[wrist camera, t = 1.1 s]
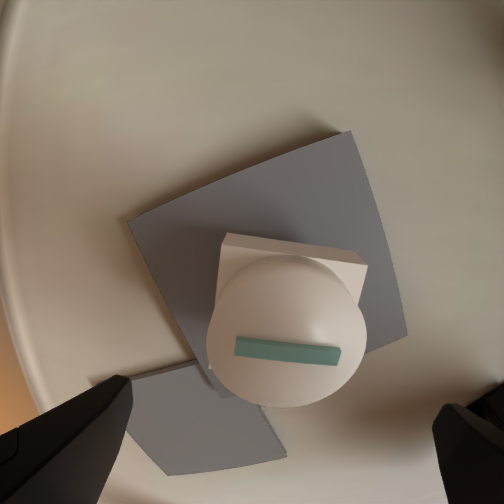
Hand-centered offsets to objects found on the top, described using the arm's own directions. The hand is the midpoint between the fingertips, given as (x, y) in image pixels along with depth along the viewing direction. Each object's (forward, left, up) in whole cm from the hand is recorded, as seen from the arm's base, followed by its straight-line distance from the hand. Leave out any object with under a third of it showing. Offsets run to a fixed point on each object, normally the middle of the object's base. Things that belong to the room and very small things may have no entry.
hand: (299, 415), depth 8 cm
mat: (-9, +10, -11) cm, 17 cm away
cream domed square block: (0, 0, -7) cm, 7 cm away
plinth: (0, 0, -11) cm, 11 cm away
